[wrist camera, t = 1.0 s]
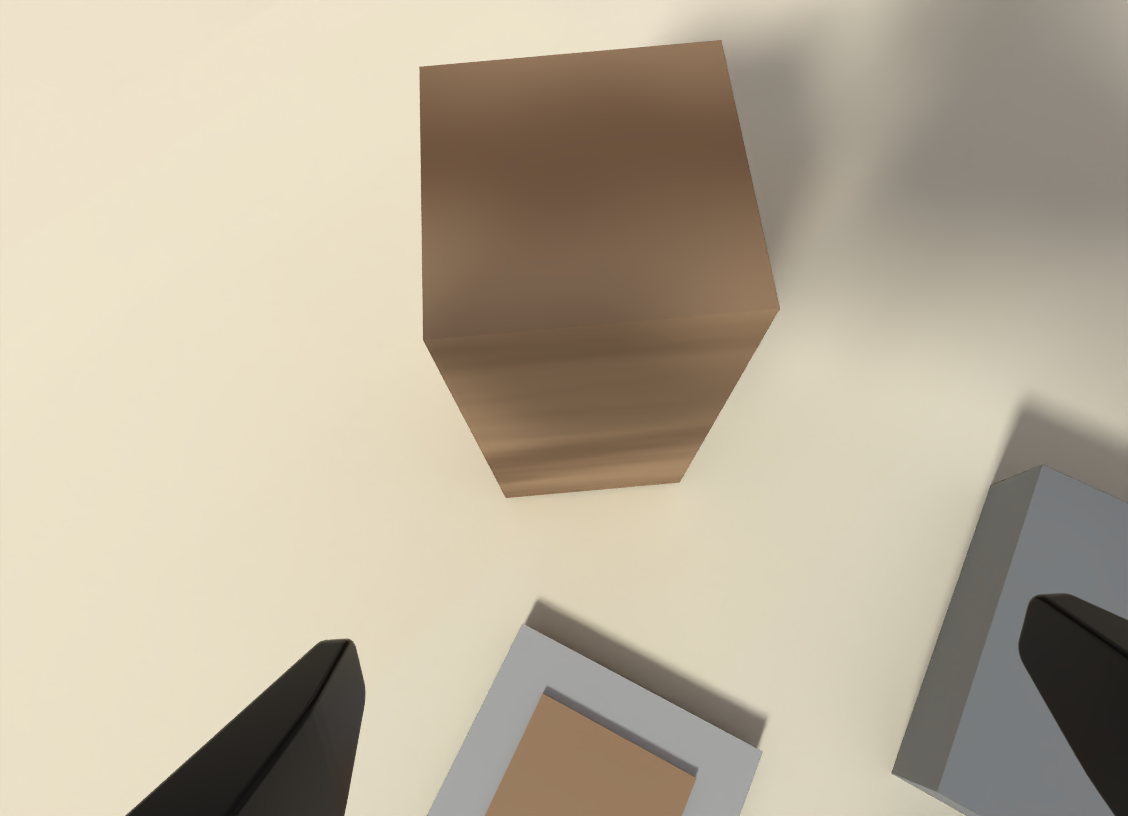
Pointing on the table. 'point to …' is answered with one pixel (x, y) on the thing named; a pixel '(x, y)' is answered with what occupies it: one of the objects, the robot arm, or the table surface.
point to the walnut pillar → (590, 259)
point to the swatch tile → (589, 746)
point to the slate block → (1013, 652)
